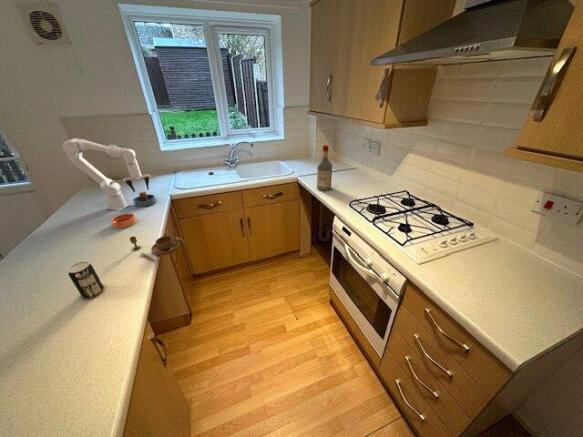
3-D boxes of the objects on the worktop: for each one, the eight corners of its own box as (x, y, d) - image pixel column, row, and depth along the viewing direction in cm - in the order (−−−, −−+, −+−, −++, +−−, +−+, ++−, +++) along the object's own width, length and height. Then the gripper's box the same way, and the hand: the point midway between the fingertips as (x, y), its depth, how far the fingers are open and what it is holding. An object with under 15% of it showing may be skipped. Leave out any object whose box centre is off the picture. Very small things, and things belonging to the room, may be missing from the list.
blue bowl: (131, 207, 152) (128, 201, 150) (144, 199, 162) (142, 194, 160) (147, 208, 150) (145, 202, 148) (160, 200, 160) (158, 194, 158)
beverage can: (90, 286, 90) (75, 261, 85) (108, 285, 91) (94, 260, 85) (77, 299, 85) (61, 274, 79) (97, 298, 85) (82, 272, 79)
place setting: (155, 263, 101) (151, 252, 98) (130, 249, 111) (126, 239, 108) (190, 243, 114) (187, 232, 111) (165, 232, 124) (162, 222, 121)
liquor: (329, 191, 166) (331, 147, 151) (316, 190, 168) (317, 146, 154) (331, 186, 173) (333, 144, 159) (319, 185, 176) (320, 143, 161)
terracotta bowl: (108, 228, 128) (105, 222, 126) (124, 219, 138) (122, 212, 136) (126, 230, 126) (123, 223, 125) (141, 220, 136) (139, 214, 134)
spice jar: (141, 204, 154) (137, 193, 151) (145, 201, 158) (141, 191, 154) (146, 204, 154) (142, 193, 150) (150, 201, 157) (147, 191, 153)
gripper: (119, 173, 139) (128, 195, 146) (147, 169, 145) (154, 190, 152) (120, 170, 145) (128, 191, 151) (147, 166, 151) (153, 186, 157)
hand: (141, 190), depth 152 cm, fingers open, 7 cm apart
